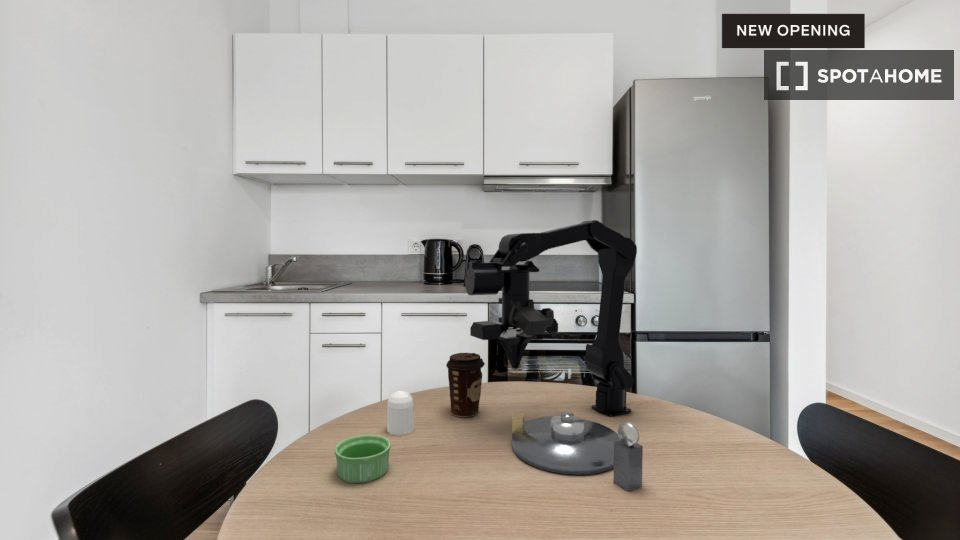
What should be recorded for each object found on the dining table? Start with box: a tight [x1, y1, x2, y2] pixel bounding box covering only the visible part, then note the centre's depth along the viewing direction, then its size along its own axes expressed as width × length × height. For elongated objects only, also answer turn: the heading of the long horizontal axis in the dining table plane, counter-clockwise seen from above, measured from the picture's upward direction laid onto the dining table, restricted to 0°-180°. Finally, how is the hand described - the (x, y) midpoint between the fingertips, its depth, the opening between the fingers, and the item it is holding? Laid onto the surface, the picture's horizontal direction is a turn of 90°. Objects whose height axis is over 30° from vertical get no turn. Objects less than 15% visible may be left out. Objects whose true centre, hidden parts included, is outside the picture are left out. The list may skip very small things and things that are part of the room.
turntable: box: [511, 412, 621, 475], centre depth 81 cm, size 20×20×5 cm
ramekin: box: [334, 434, 392, 484], centre depth 73 cm, size 9×9×4 cm
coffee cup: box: [445, 352, 486, 418], centre depth 99 cm, size 9×8×13 cm
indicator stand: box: [612, 421, 644, 493], centre depth 69 cm, size 3×3×10 cm
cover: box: [551, 411, 584, 444], centre depth 81 cm, size 6×6×4 cm
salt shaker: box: [386, 390, 415, 436], centre depth 89 cm, size 5×5×8 cm
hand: (515, 368), depth 92 cm, fingers closed
